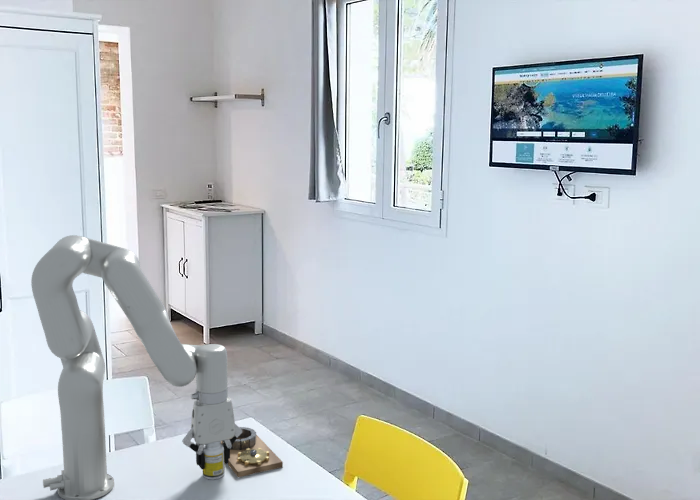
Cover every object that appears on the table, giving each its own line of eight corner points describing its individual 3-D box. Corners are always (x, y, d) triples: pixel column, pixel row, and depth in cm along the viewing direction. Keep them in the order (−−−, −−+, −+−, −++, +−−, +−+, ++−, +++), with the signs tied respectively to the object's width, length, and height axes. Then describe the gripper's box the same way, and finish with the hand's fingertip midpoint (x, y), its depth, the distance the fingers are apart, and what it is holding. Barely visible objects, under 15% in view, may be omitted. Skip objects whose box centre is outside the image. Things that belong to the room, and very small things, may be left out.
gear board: (238, 477, 176) (237, 471, 175) (210, 442, 195) (210, 437, 194) (282, 467, 181) (282, 461, 181) (251, 434, 200) (251, 429, 200)
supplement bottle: (207, 468, 180) (207, 432, 178) (227, 471, 179) (227, 434, 177) (198, 478, 175) (198, 441, 173) (219, 481, 174) (219, 443, 172)
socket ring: (229, 452, 186) (228, 443, 185) (218, 439, 193) (218, 430, 193) (260, 445, 190) (260, 437, 190) (249, 433, 198) (248, 424, 197)
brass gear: (243, 468, 177) (243, 461, 177) (232, 455, 184) (232, 447, 184) (274, 461, 181) (274, 454, 181) (262, 448, 188) (262, 441, 188)
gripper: (181, 406, 166) (183, 478, 169) (250, 394, 174) (251, 463, 177) (173, 395, 172) (175, 465, 175) (240, 384, 181) (240, 451, 184)
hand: (213, 463), depth 176 cm, fingers closed on supplement bottle, 5 cm apart
